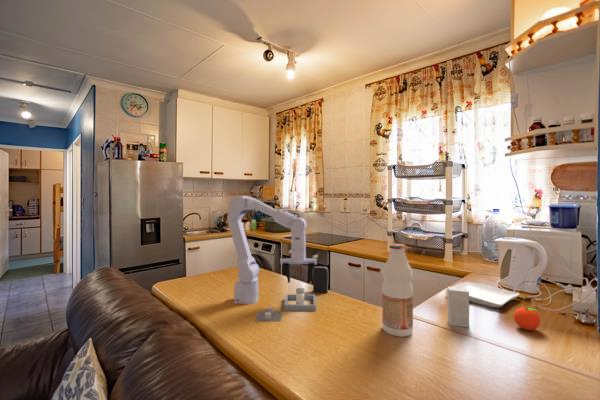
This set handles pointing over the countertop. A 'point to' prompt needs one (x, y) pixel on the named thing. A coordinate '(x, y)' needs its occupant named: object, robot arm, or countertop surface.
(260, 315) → the plate
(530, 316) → the red tomato
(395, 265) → the fruit juice
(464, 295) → the skincare box
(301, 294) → the cylinder
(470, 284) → the salad plate
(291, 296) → the parts tray
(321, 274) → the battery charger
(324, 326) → the countertop surface
